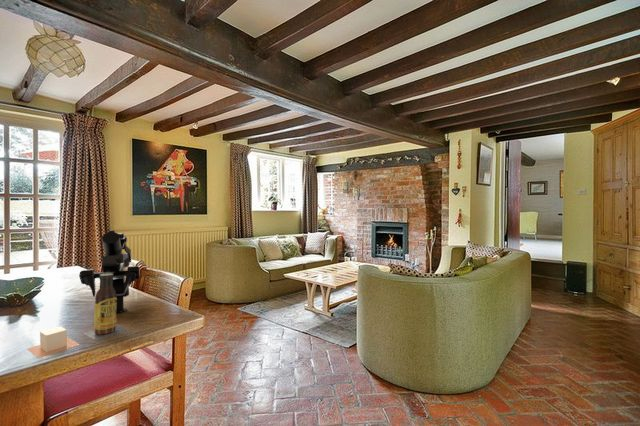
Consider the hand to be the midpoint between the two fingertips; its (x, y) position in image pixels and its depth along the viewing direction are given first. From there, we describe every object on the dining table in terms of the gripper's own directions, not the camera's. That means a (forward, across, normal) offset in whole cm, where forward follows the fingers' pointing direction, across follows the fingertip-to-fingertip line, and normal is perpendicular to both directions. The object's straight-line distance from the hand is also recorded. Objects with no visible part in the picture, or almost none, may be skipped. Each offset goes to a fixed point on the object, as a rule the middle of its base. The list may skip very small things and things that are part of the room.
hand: (109, 294), depth 112 cm
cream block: (+17, -13, -2) cm, 21 cm away
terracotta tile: (+18, -13, -1) cm, 22 cm away
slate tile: (+13, 0, +3) cm, 14 cm away
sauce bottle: (+13, 0, +3) cm, 13 cm away
